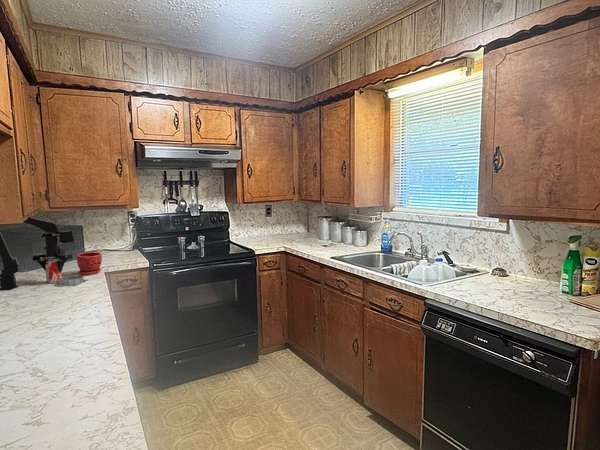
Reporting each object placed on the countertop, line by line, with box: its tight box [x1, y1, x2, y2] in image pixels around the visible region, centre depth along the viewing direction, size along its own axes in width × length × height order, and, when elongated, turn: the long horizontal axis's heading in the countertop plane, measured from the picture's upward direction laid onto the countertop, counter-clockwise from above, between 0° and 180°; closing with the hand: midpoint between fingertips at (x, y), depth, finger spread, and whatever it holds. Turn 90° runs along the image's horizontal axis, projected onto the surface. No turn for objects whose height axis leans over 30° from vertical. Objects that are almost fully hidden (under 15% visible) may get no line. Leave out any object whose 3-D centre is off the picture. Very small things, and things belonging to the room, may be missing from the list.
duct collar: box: [55, 274, 89, 287], centre depth 201 cm, size 11×11×3 cm
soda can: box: [45, 259, 63, 284], centre depth 202 cm, size 7×7×12 cm
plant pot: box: [76, 251, 103, 276], centre depth 222 cm, size 13×13×12 cm
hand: (53, 272), depth 202 cm, fingers closed on soda can, 7 cm apart
